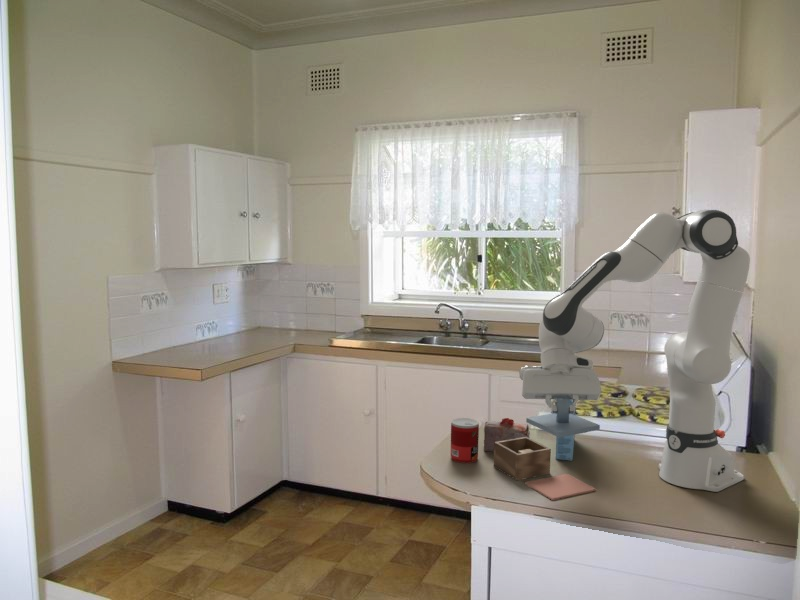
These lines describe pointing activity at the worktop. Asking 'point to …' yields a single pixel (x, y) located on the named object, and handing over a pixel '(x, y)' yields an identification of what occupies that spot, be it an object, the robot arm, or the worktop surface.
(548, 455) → the crate
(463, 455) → the canned food
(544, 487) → the mat
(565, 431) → the lid
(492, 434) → the food item
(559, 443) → the blue box
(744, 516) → the worktop surface
